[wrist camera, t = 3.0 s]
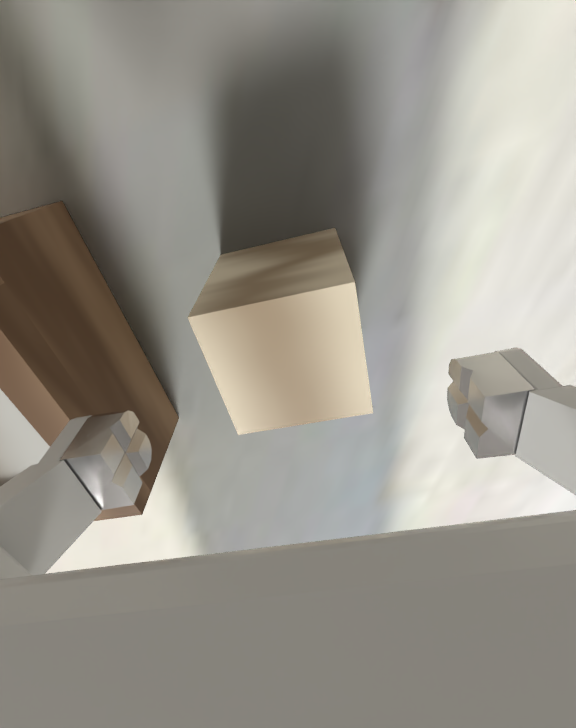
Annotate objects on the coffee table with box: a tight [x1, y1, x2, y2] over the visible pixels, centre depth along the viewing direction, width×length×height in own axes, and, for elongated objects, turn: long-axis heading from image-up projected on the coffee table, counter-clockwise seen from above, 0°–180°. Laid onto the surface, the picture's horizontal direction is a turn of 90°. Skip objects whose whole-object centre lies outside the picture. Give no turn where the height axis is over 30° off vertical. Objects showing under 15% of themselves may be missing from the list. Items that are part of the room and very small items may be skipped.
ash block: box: [188, 228, 373, 435], centre depth 14 cm, size 5×5×6 cm
